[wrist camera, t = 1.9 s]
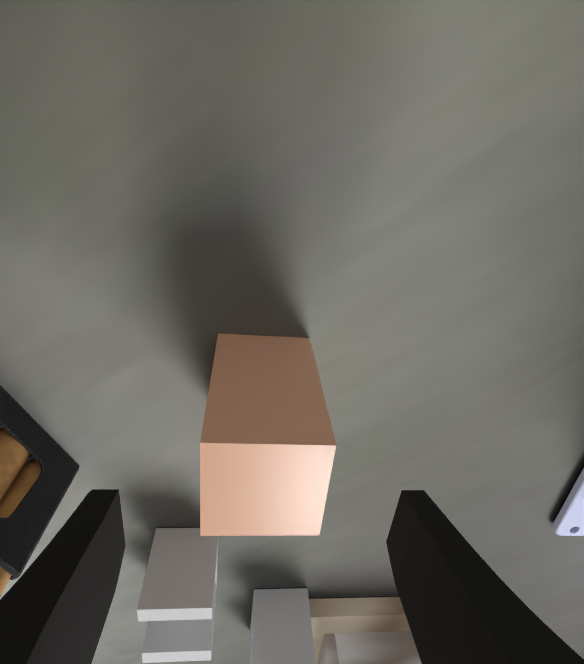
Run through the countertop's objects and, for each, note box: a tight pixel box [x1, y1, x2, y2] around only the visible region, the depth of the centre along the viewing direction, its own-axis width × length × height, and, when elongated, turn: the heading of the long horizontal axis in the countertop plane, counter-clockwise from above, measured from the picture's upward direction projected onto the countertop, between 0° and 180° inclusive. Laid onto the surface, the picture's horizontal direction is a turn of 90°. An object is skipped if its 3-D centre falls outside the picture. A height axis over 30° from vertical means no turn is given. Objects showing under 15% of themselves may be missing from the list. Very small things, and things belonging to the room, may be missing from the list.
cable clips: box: [137, 528, 316, 664], centre depth 21 cm, size 8×9×4 cm
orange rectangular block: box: [200, 333, 336, 536], centre depth 14 cm, size 4×4×6 cm
